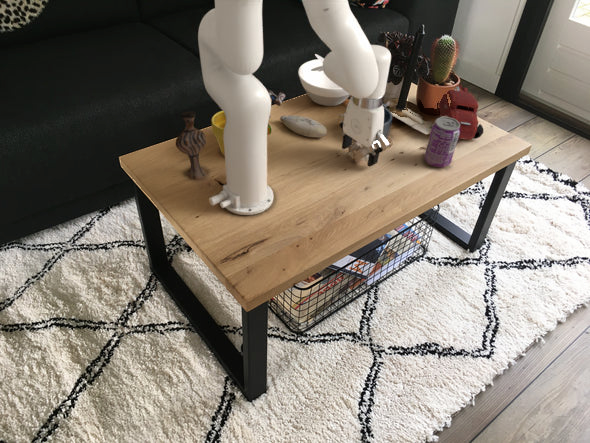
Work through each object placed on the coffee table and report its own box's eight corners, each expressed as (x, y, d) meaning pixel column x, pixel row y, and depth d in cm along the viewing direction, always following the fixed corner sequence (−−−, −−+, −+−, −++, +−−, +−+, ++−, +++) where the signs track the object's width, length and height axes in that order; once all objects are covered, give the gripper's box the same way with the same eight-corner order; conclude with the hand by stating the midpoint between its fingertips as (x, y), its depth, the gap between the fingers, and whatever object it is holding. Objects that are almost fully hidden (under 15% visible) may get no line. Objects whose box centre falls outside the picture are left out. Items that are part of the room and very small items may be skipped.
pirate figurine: (220, 99, 132) (255, 63, 137) (227, 128, 143) (260, 93, 148) (262, 124, 128) (296, 86, 133) (266, 151, 140) (297, 115, 145)
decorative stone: (285, 117, 149) (285, 107, 147) (331, 133, 144) (332, 123, 142) (274, 127, 145) (274, 117, 143) (321, 143, 140) (322, 133, 138)
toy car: (463, 101, 162) (476, 72, 155) (483, 150, 141) (499, 119, 135) (419, 93, 161) (430, 64, 154) (433, 142, 140) (446, 110, 133)
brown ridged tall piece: (182, 182, 125) (173, 119, 113) (178, 170, 129) (168, 108, 116) (211, 176, 127) (205, 114, 115) (206, 165, 131) (200, 103, 118)
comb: (424, 139, 142) (443, 133, 148) (427, 131, 141) (447, 126, 147) (386, 116, 150) (405, 111, 156) (388, 108, 148) (408, 104, 155)
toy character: (364, 163, 137) (354, 144, 138) (376, 154, 130) (365, 134, 130) (352, 169, 136) (342, 150, 136) (364, 161, 129) (352, 141, 129)
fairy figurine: (344, 68, 148) (335, 51, 151) (323, 70, 146) (314, 53, 149) (338, 83, 153) (330, 66, 156) (318, 85, 151) (309, 69, 154)
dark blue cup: (368, 148, 139) (372, 130, 135) (340, 130, 145) (342, 112, 141) (397, 135, 145) (400, 116, 141) (368, 117, 151) (371, 99, 147)
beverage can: (448, 154, 138) (460, 116, 130) (451, 170, 133) (464, 131, 125) (422, 152, 139) (432, 114, 131) (425, 167, 134) (435, 129, 125)
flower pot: (240, 135, 141) (239, 104, 134) (259, 154, 135) (259, 122, 128) (207, 146, 136) (204, 115, 130) (225, 166, 130) (223, 134, 124)
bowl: (313, 76, 168) (315, 53, 163) (367, 92, 162) (371, 68, 157) (286, 102, 156) (287, 77, 150) (343, 120, 150) (346, 95, 144)
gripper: (332, 88, 125) (327, 145, 137) (383, 118, 116) (372, 177, 127) (354, 80, 129) (346, 136, 140) (405, 108, 119) (392, 166, 131)
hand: (359, 155), depth 134 cm, fingers open, 9 cm apart
